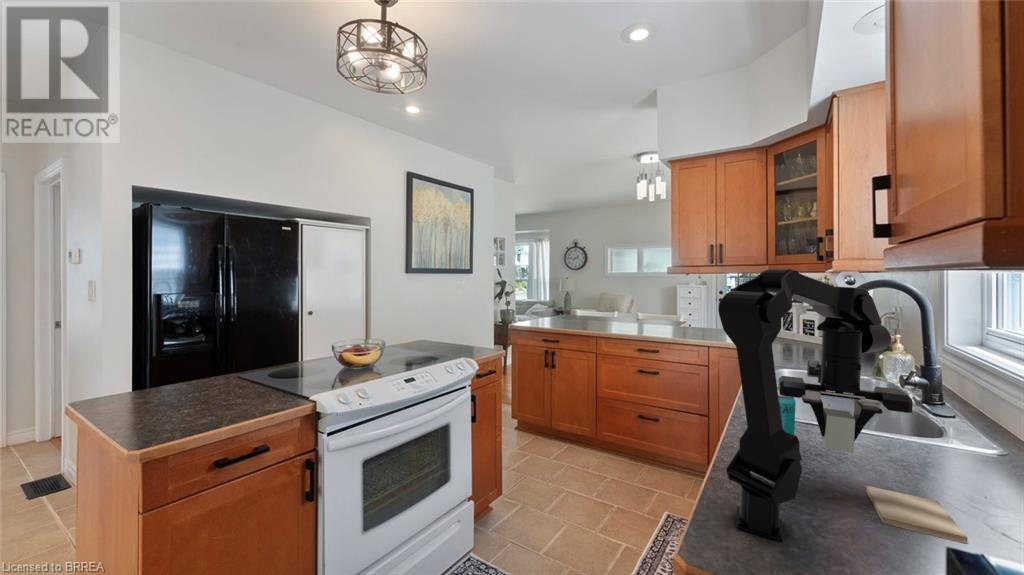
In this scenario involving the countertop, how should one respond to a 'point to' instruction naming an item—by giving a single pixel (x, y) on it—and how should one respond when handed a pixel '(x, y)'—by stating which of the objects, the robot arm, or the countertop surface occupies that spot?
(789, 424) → the beverage can
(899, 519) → the board
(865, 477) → the countertop surface
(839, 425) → the block
